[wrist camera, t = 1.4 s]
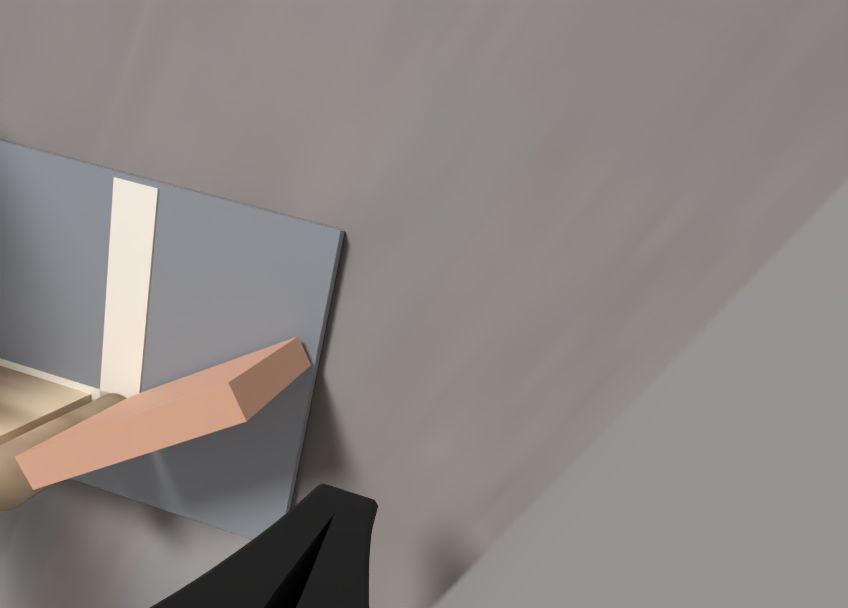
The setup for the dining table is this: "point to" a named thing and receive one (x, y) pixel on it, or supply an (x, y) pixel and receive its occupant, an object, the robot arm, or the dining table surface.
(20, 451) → the fence fixed
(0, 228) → the card
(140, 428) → the tan flat block
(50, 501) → the dining table surface
